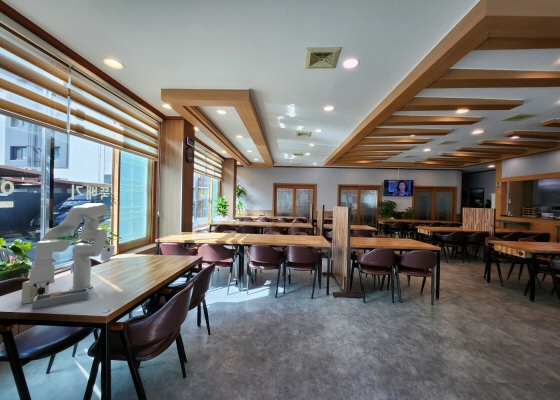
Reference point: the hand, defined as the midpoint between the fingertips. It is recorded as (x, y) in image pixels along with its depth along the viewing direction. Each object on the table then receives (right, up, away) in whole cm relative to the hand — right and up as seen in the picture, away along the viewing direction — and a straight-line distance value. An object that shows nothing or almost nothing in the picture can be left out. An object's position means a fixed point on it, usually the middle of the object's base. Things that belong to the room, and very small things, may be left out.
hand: (40, 294), depth 138 cm
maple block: (+4, -4, +4) cm, 7 cm away
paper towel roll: (-19, -7, +18) cm, 27 cm away
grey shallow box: (+7, -6, +6) cm, 11 cm away
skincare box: (-12, -6, +5) cm, 14 cm away
